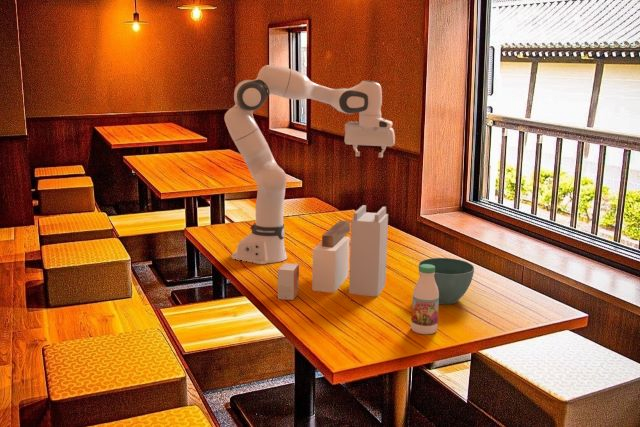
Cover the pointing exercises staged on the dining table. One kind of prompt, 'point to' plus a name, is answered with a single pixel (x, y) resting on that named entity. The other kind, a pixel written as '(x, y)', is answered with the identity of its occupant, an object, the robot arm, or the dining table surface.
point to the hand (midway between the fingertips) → (369, 156)
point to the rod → (335, 233)
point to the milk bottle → (425, 302)
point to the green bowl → (451, 278)
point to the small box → (288, 281)
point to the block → (330, 266)
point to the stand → (368, 252)
